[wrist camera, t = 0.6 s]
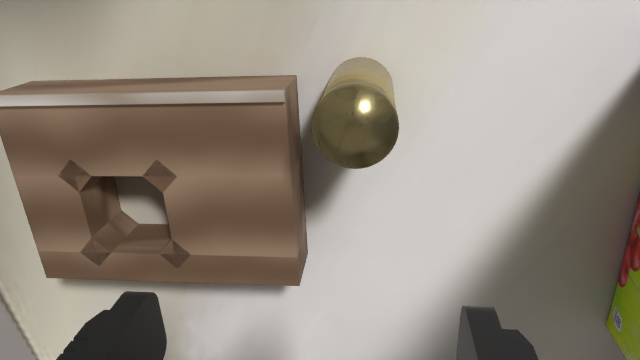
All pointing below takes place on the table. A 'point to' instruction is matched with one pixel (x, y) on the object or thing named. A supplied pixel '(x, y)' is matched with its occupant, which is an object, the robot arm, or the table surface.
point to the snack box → (628, 297)
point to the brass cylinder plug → (357, 115)
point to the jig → (162, 177)
